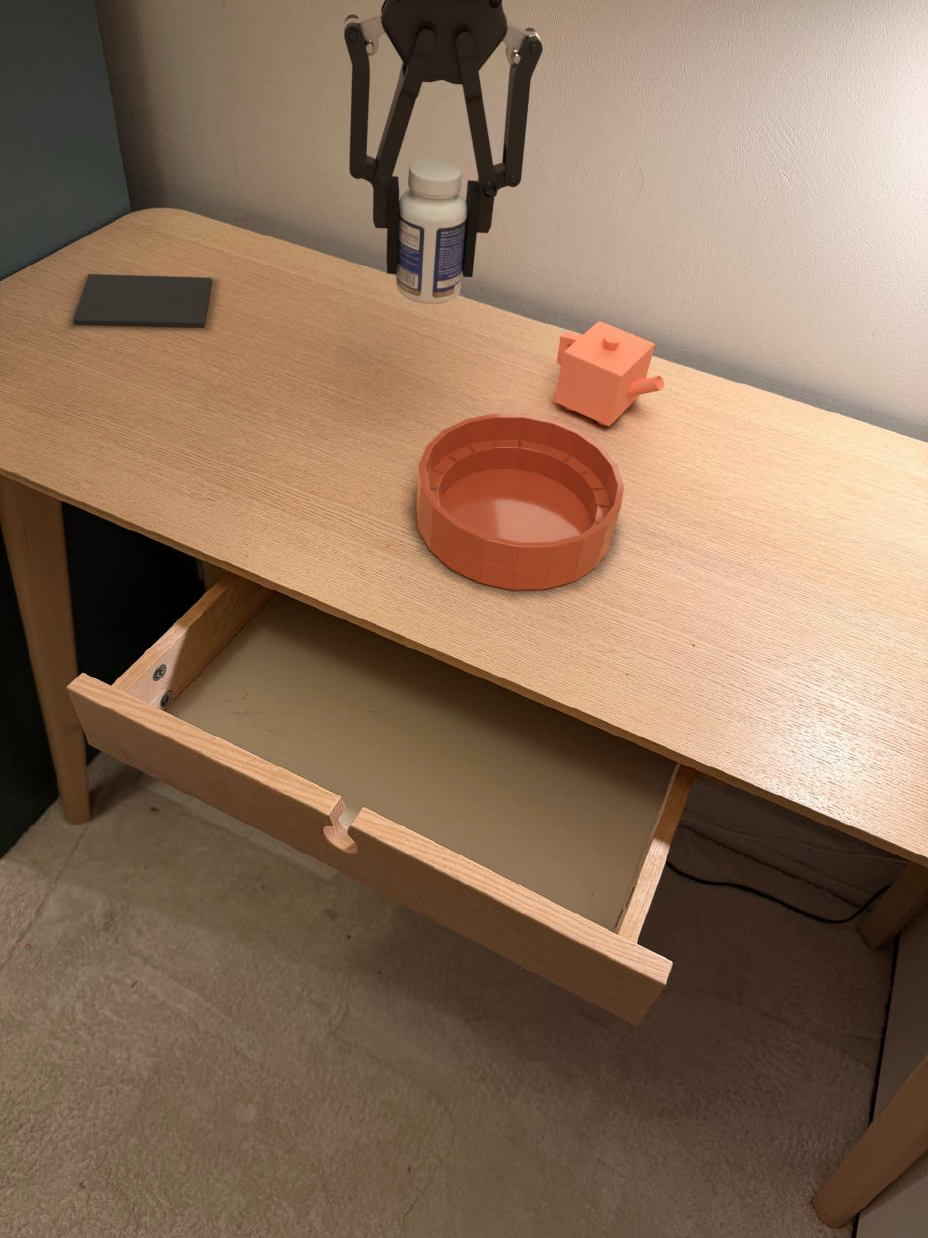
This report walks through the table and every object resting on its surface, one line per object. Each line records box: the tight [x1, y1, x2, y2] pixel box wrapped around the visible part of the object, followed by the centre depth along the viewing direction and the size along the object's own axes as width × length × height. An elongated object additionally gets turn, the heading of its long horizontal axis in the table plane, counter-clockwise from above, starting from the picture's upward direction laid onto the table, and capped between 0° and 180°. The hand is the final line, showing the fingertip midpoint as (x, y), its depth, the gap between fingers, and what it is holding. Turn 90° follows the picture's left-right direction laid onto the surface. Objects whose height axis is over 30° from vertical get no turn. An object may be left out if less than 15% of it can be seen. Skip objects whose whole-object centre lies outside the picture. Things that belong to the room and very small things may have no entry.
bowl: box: [415, 413, 625, 591], centre depth 83 cm, size 18×18×6 cm
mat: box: [72, 273, 213, 328], centre depth 104 cm, size 14×10×1 cm
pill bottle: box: [395, 157, 468, 305], centre depth 72 cm, size 5×5×10 cm
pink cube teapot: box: [553, 320, 665, 427], centre depth 95 cm, size 8×12×8 cm, turn 56°
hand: (429, 266), depth 74 cm, fingers closed on pill bottle, 5 cm apart
